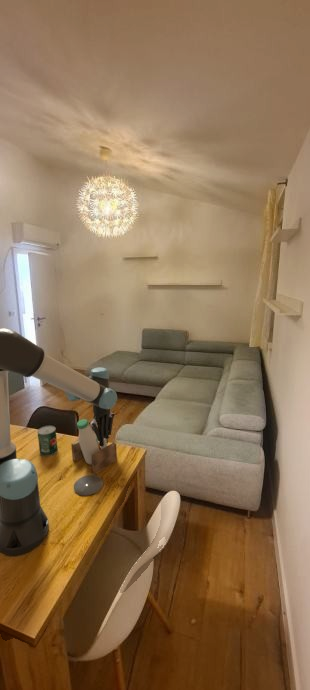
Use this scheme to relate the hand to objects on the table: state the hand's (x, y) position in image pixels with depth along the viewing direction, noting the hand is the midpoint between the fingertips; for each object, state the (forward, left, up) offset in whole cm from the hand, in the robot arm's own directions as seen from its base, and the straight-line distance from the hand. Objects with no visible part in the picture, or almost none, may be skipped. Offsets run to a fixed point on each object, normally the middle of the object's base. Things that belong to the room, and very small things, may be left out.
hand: (104, 451), depth 134 cm
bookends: (-5, 0, -2) cm, 6 cm away
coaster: (-17, -11, -2) cm, 21 cm away
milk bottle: (-5, 0, -1) cm, 6 cm away
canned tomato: (-14, +22, -2) cm, 26 cm away
